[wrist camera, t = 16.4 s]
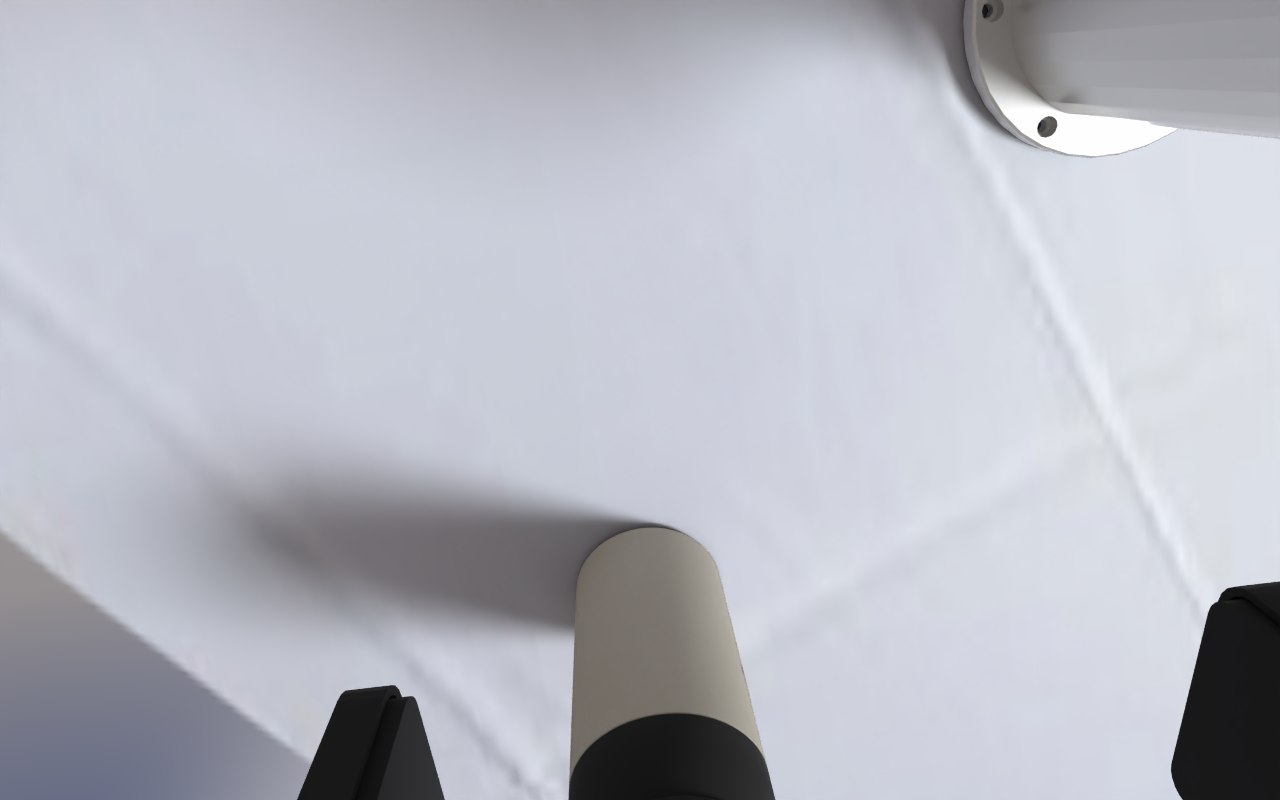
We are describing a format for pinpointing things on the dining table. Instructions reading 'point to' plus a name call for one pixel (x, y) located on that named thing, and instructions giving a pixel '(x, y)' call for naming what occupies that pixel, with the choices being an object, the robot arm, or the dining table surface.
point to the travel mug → (659, 678)
